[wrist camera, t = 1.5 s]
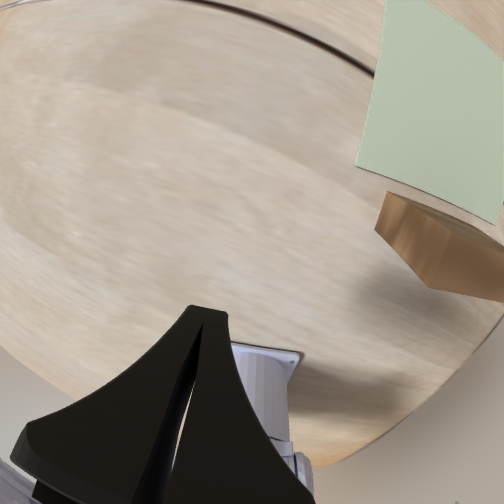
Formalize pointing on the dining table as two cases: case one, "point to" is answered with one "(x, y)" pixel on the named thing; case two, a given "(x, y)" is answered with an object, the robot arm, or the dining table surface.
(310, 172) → the dining table surface
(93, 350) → the dining table surface
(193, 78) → the dining table surface
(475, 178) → the mat
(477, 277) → the slab
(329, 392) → the dining table surface
